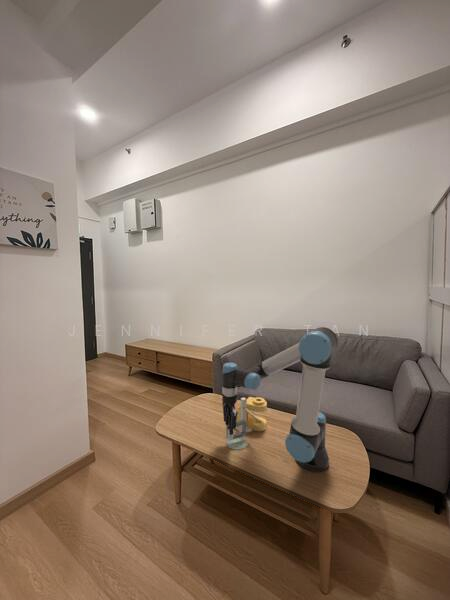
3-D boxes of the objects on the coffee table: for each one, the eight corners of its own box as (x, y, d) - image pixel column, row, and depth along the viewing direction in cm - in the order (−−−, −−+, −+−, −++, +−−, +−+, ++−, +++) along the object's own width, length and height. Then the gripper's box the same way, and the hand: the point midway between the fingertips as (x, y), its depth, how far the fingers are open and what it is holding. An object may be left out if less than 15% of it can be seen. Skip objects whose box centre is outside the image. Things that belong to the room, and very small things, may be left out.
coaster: (251, 446, 126) (251, 445, 126) (232, 452, 121) (232, 451, 121) (241, 434, 136) (241, 433, 136) (223, 439, 131) (223, 438, 131)
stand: (264, 444, 127) (264, 410, 126) (253, 447, 124) (253, 413, 123) (245, 424, 145) (245, 395, 144) (235, 427, 142) (235, 397, 141)
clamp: (268, 425, 144) (269, 398, 144) (263, 433, 136) (263, 405, 135) (237, 416, 154) (238, 391, 153) (231, 423, 146) (231, 397, 145)
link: (245, 435, 130) (245, 421, 129) (228, 440, 126) (228, 425, 125) (244, 434, 131) (244, 419, 131) (227, 439, 127) (227, 424, 126)
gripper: (243, 398, 120) (242, 444, 121) (229, 387, 133) (229, 428, 135) (229, 401, 117) (229, 448, 118) (217, 389, 130) (217, 432, 131)
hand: (229, 438), depth 126 cm, fingers closed on link, 1 cm apart
